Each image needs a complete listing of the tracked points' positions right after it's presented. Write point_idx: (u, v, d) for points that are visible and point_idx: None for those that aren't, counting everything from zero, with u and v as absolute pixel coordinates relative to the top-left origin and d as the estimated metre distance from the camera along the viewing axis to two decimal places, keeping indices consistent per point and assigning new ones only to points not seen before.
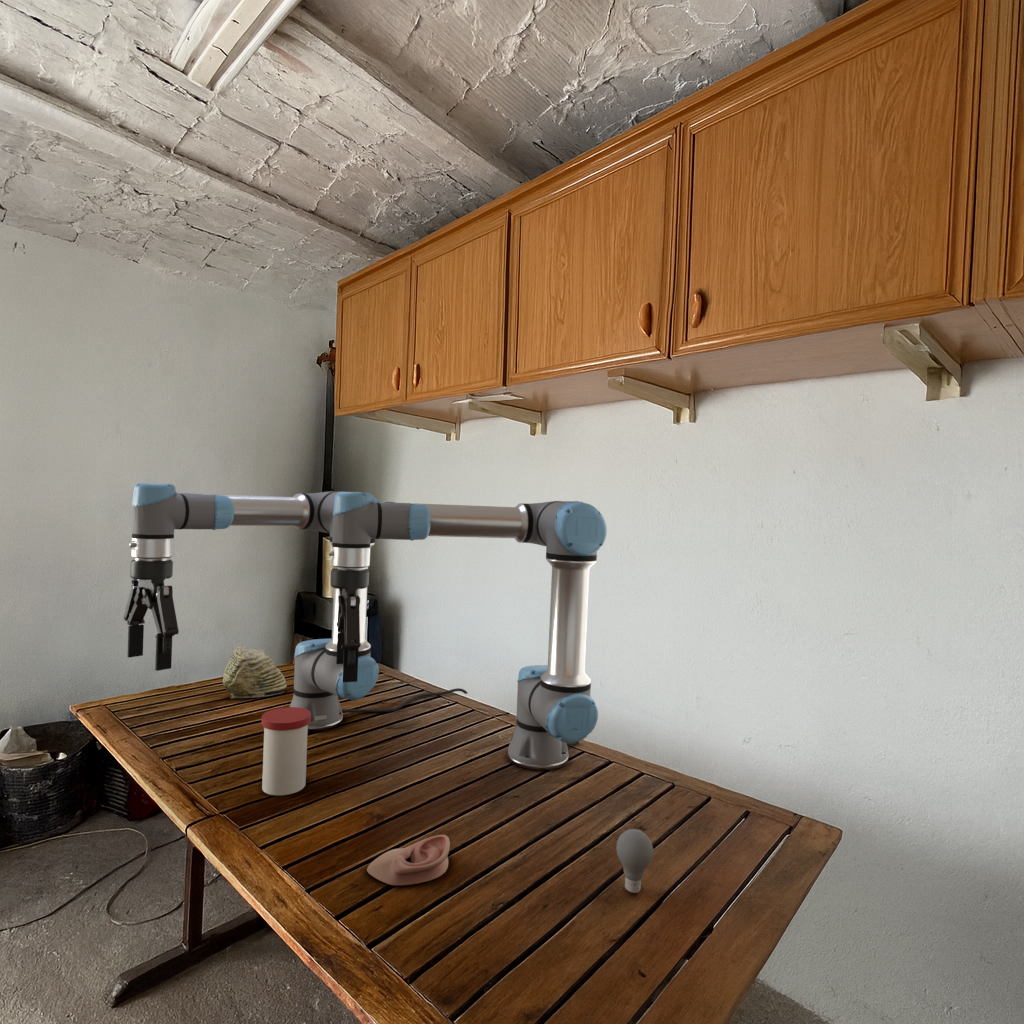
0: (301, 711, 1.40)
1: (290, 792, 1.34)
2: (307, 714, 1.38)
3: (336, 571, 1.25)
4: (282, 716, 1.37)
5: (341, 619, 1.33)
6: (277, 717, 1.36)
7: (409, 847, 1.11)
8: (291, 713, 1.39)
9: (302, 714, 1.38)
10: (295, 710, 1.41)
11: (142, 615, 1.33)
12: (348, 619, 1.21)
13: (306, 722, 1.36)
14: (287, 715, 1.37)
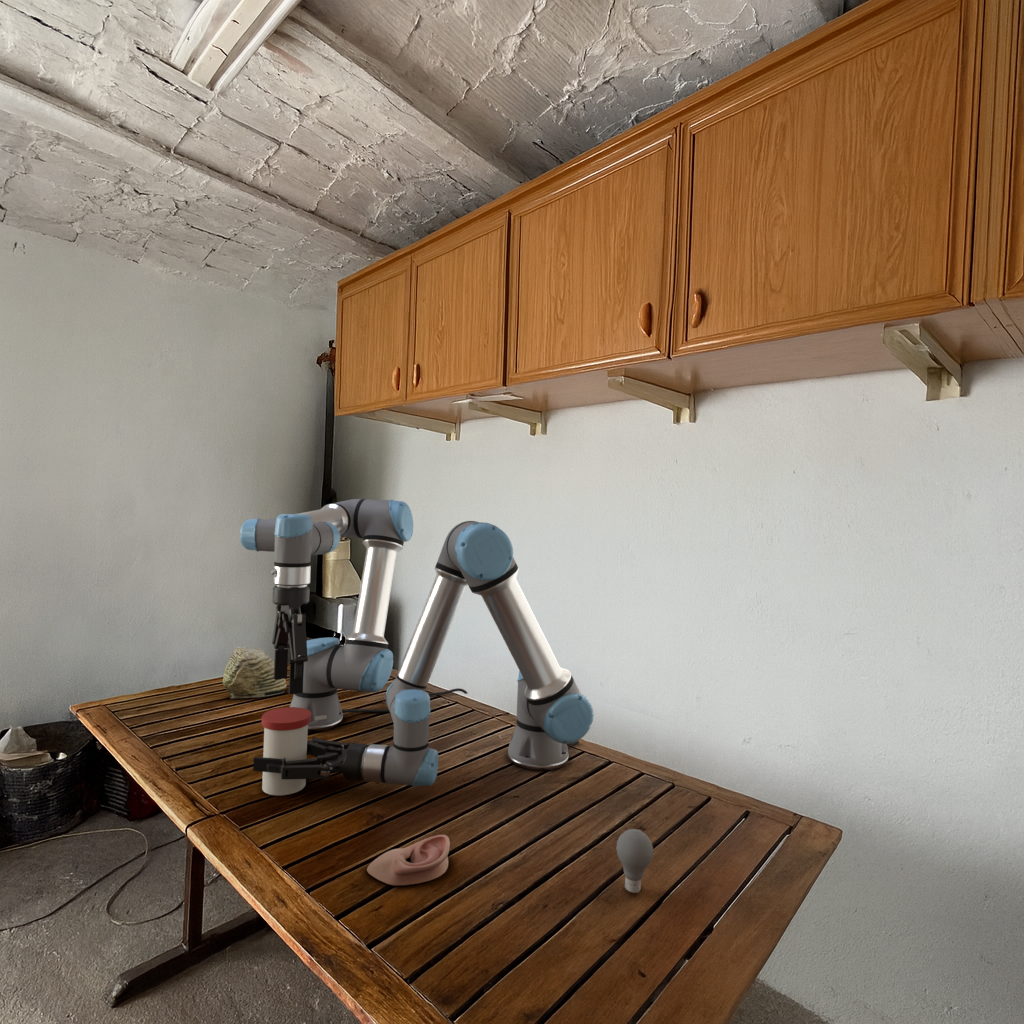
0: (301, 711, 1.40)
1: (290, 792, 1.34)
2: (307, 714, 1.38)
3: None
4: (282, 716, 1.37)
5: None
6: (277, 717, 1.36)
7: (409, 847, 1.11)
8: (291, 713, 1.39)
9: (302, 714, 1.38)
10: (295, 710, 1.41)
11: (286, 639, 1.42)
12: None
13: (306, 722, 1.36)
14: (287, 715, 1.37)
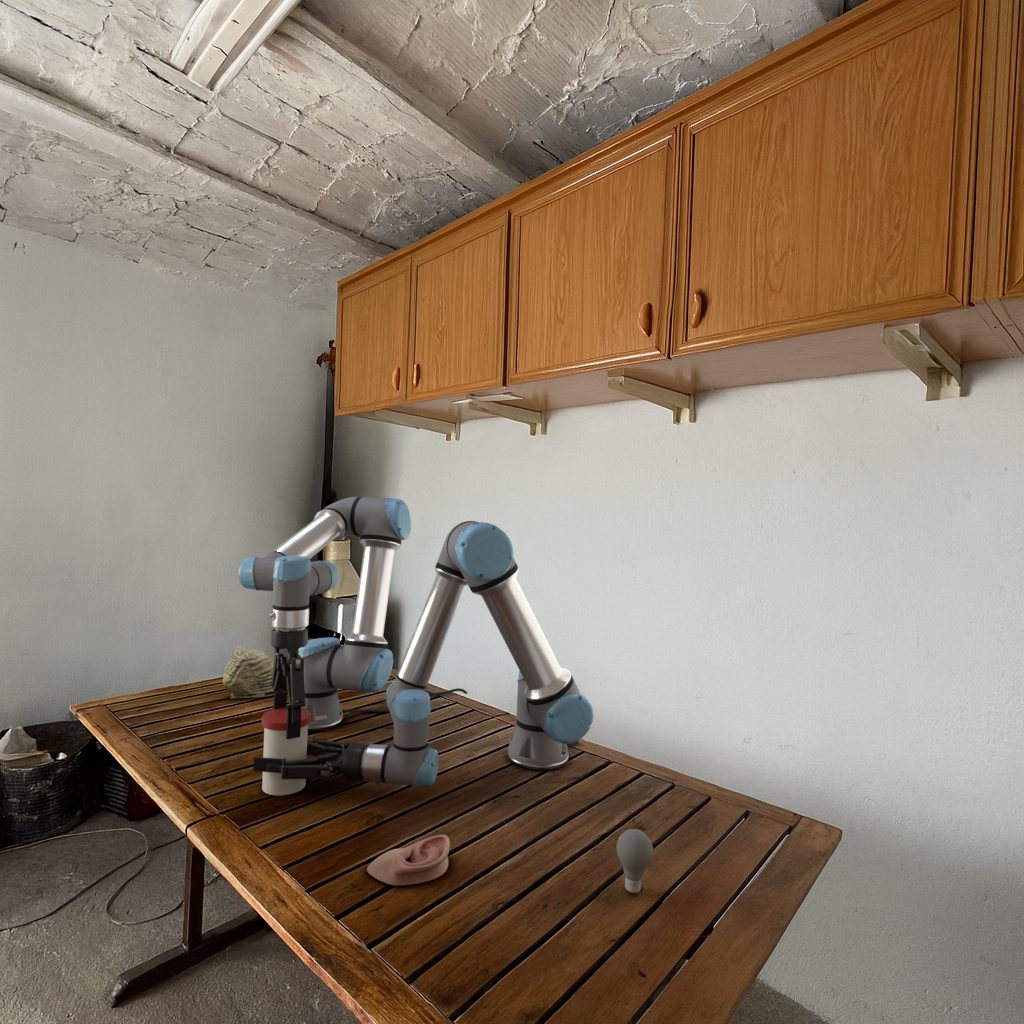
0: (301, 711, 1.40)
1: (290, 792, 1.34)
2: (307, 714, 1.38)
3: None
4: (282, 716, 1.37)
5: None
6: (277, 717, 1.36)
7: (409, 847, 1.11)
8: None
9: (302, 714, 1.38)
10: None
11: (285, 682, 1.42)
12: None
13: (306, 722, 1.36)
14: None
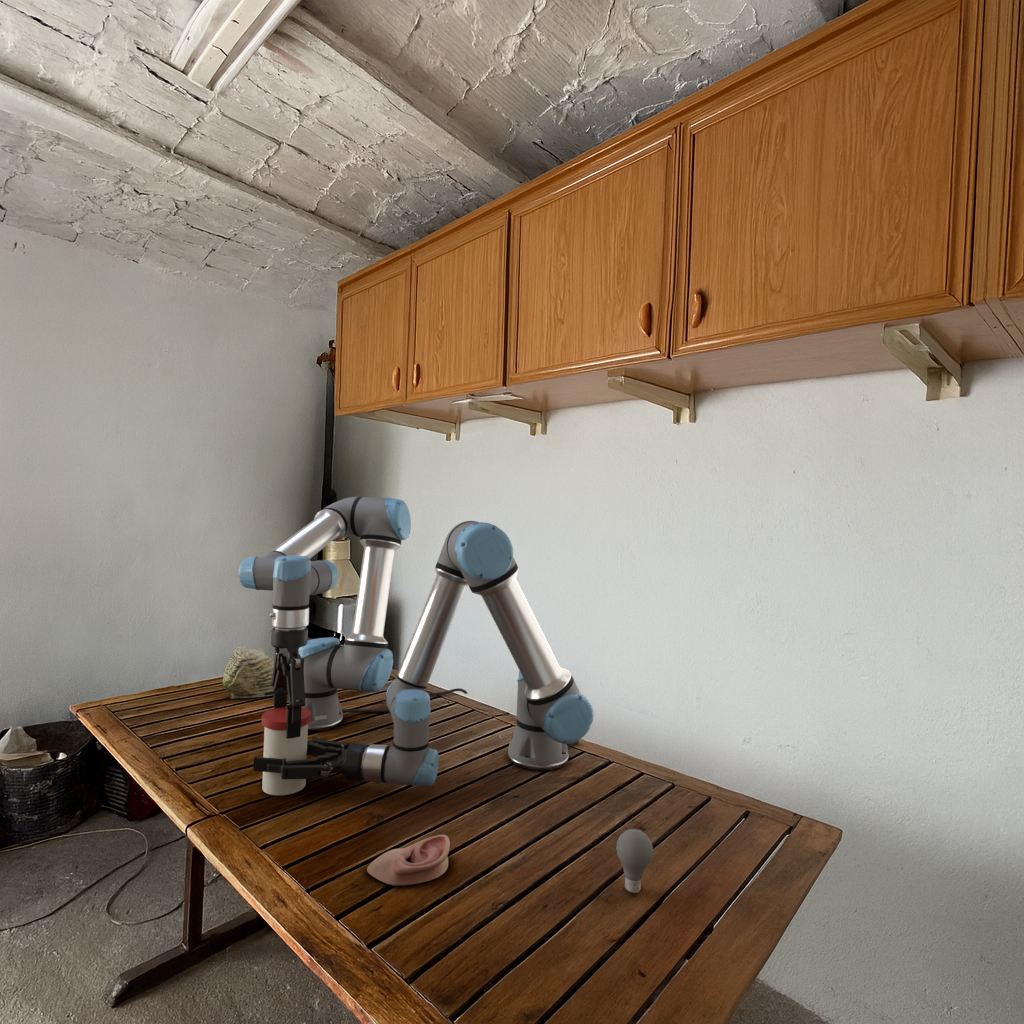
0: (279, 709, 1.40)
1: (290, 792, 1.34)
2: None
3: None
4: None
5: None
6: None
7: (409, 847, 1.11)
8: (283, 712, 1.38)
9: None
10: (275, 712, 1.39)
11: (285, 681, 1.42)
12: None
13: None
14: None
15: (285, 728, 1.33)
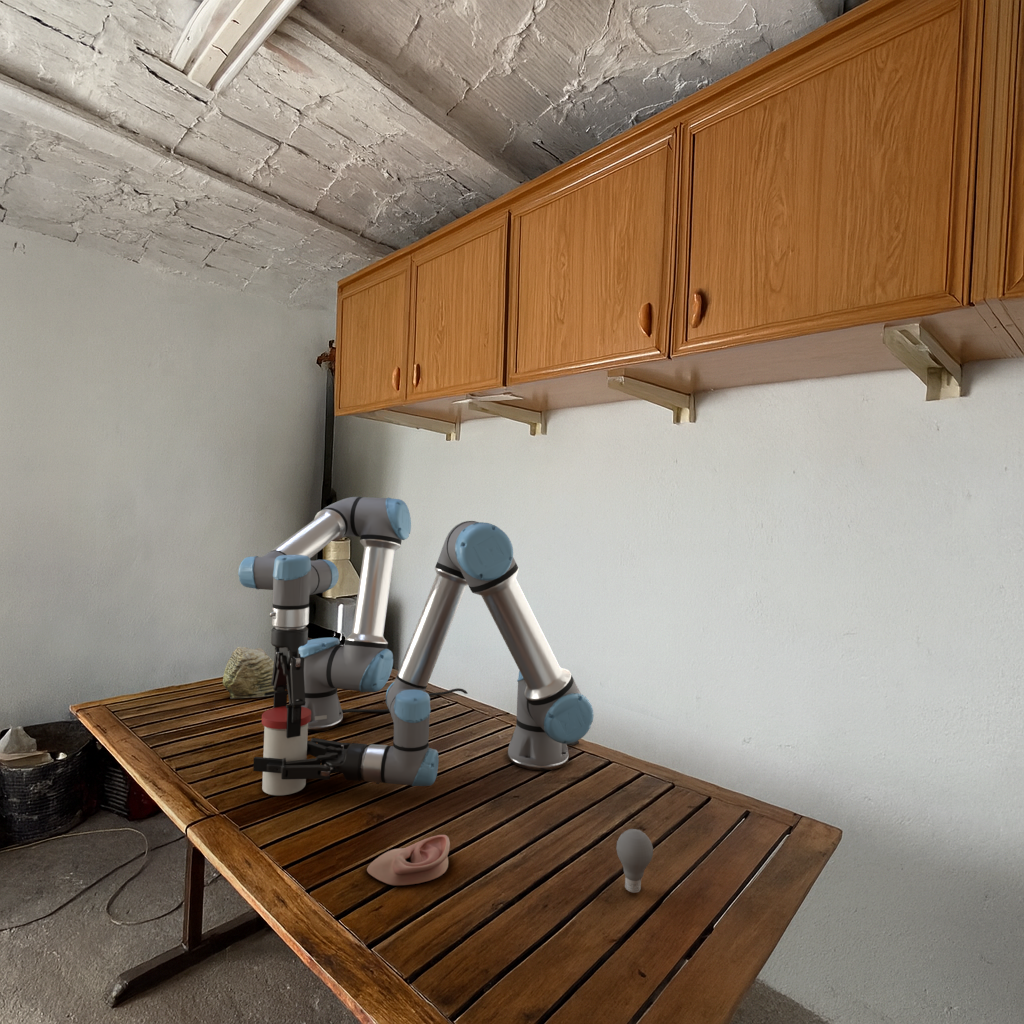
0: (271, 716, 1.35)
1: (290, 792, 1.34)
2: (266, 713, 1.37)
3: None
4: None
5: None
6: None
7: (409, 847, 1.11)
8: (281, 714, 1.37)
9: (271, 713, 1.37)
10: (277, 717, 1.35)
11: (285, 681, 1.42)
12: None
13: None
14: (286, 712, 1.38)
15: None
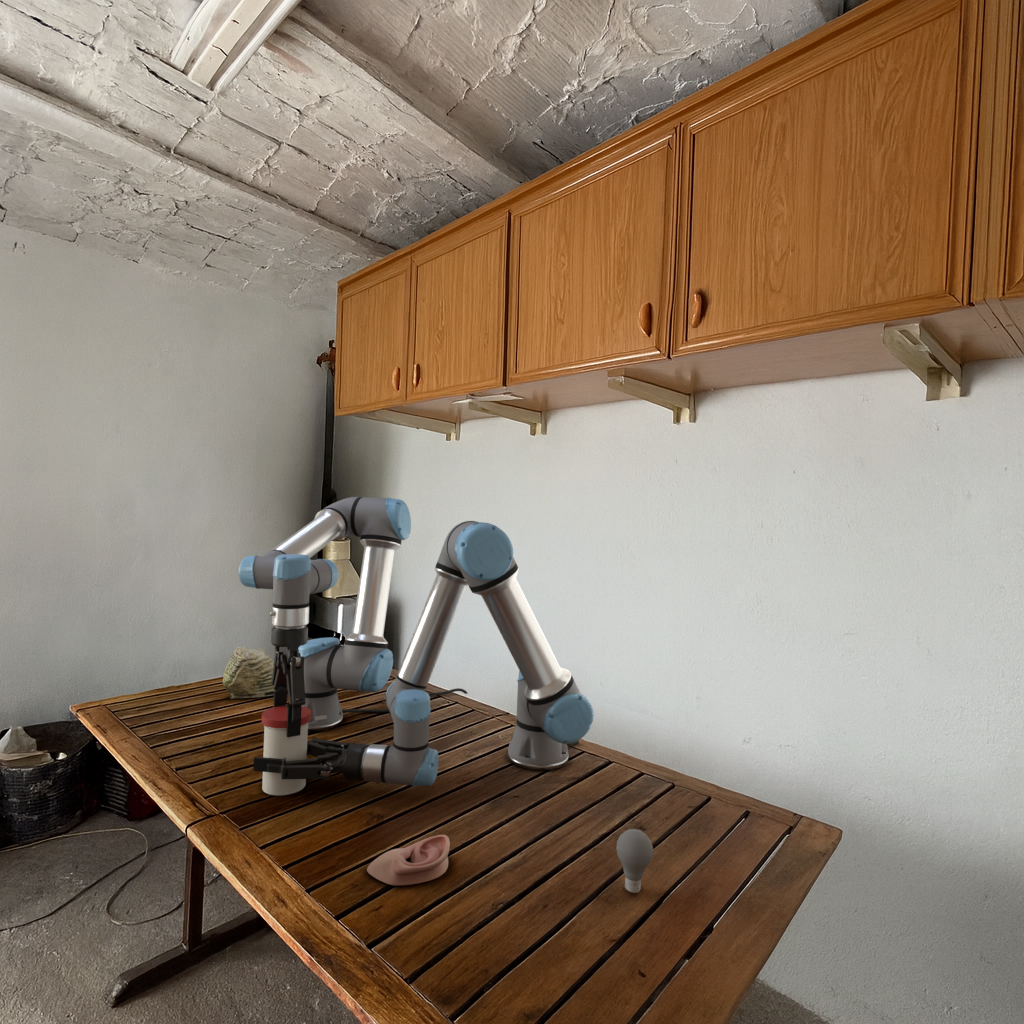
0: None
1: (290, 792, 1.34)
2: (281, 719, 1.33)
3: None
4: (282, 711, 1.38)
5: None
6: (281, 710, 1.39)
7: (409, 847, 1.11)
8: None
9: (283, 717, 1.34)
10: None
11: (285, 680, 1.42)
12: None
13: (270, 724, 1.33)
14: (284, 713, 1.37)
15: None
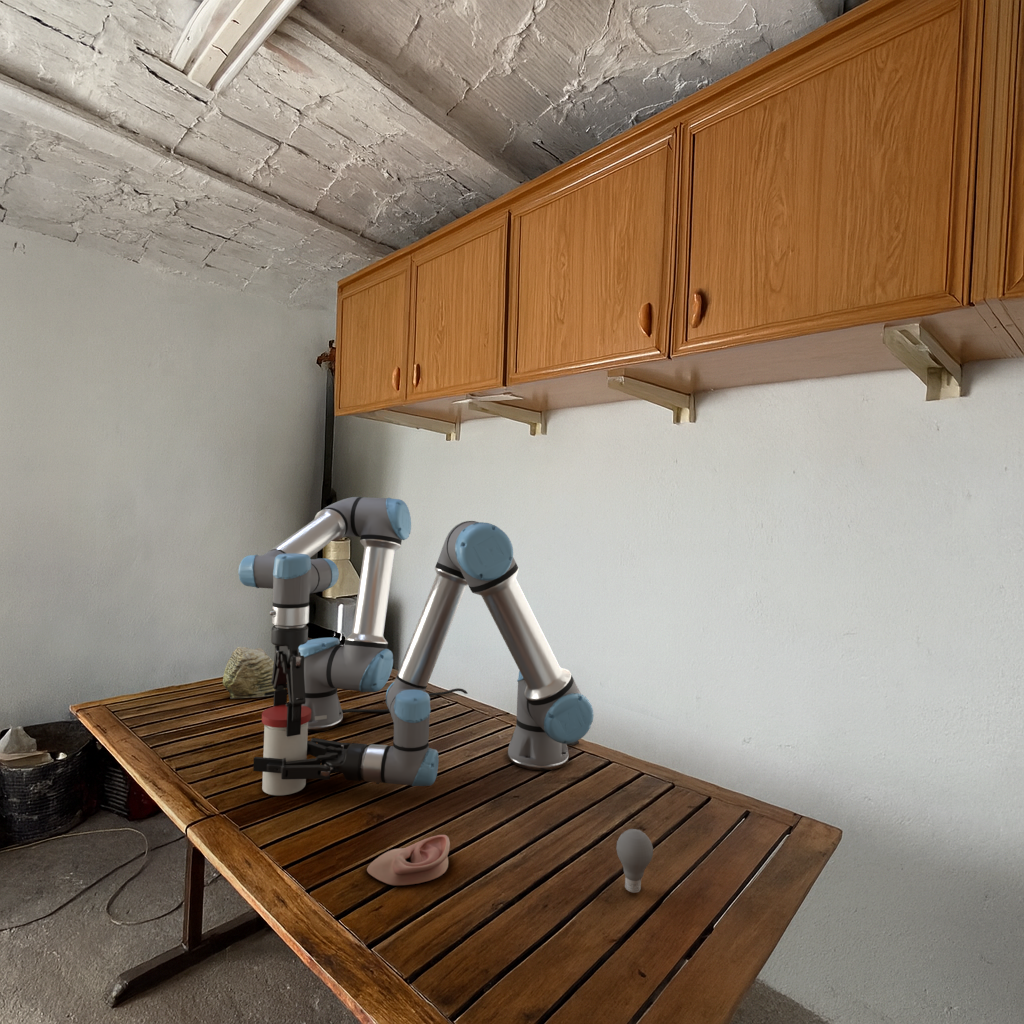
0: (302, 709, 1.40)
1: (290, 792, 1.34)
2: (307, 712, 1.38)
3: None
4: (282, 713, 1.37)
5: None
6: (277, 714, 1.36)
7: (409, 847, 1.11)
8: None
9: (302, 712, 1.38)
10: None
11: (285, 679, 1.42)
12: None
13: (305, 720, 1.36)
14: None
15: None
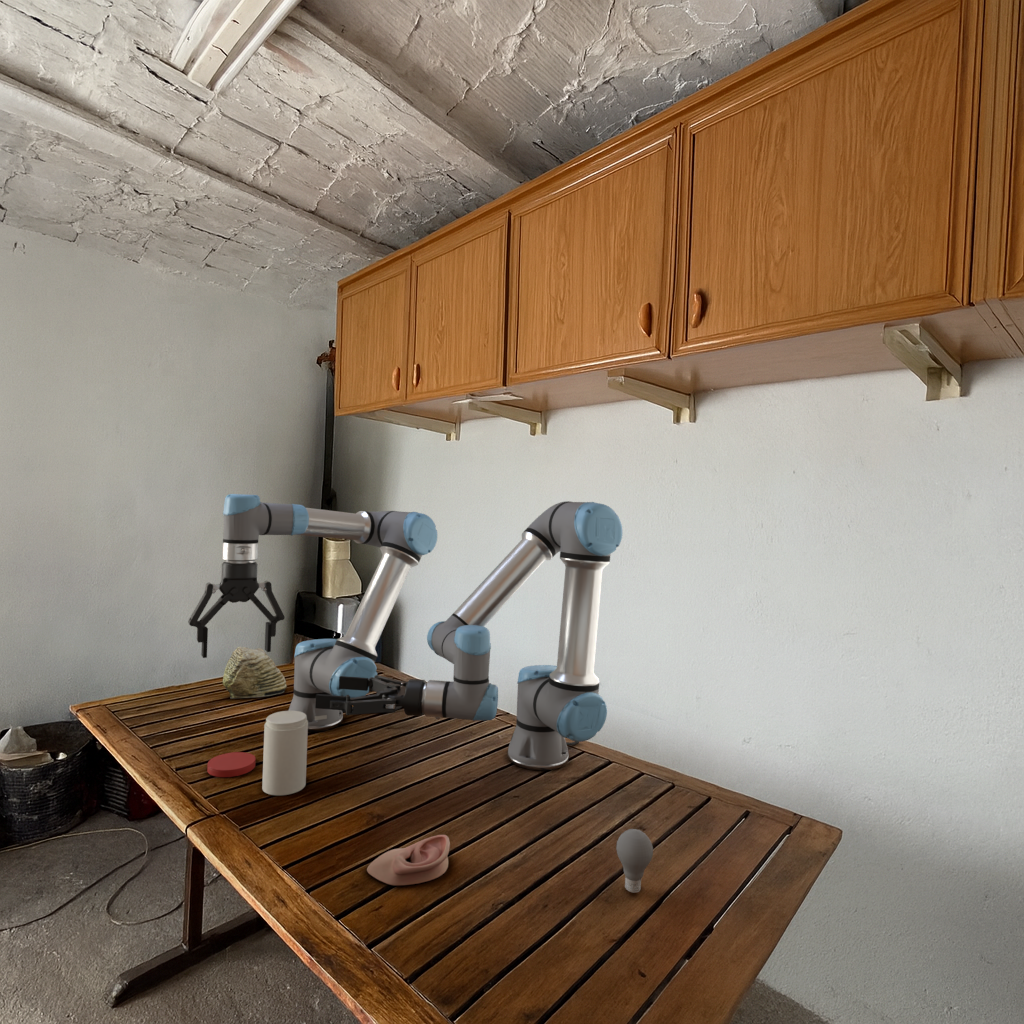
0: (215, 764, 1.44)
1: (290, 792, 1.34)
2: (212, 760, 1.46)
3: None
4: (236, 759, 1.47)
5: None
6: (241, 758, 1.47)
7: (409, 847, 1.11)
8: (226, 762, 1.45)
9: (217, 760, 1.46)
10: (220, 765, 1.43)
11: None
12: None
13: None
14: (231, 759, 1.46)
15: (254, 765, 1.47)
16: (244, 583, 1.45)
